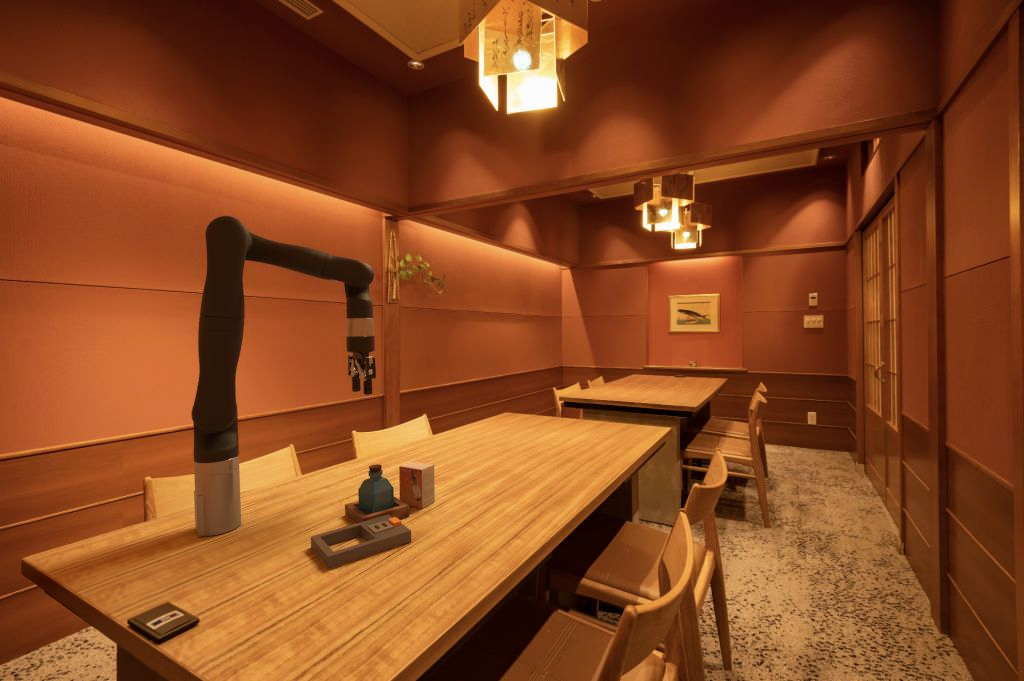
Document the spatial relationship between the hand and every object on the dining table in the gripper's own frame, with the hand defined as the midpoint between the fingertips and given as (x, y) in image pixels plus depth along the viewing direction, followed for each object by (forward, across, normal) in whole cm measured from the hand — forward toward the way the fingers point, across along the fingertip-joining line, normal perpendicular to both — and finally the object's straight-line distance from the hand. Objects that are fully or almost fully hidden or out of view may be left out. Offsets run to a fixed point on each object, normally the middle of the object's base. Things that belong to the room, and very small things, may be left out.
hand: (362, 393), depth 128 cm
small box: (+30, +12, +10) cm, 34 cm away
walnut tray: (+30, +13, -2) cm, 33 cm away
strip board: (+30, +26, -11) cm, 41 cm away
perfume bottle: (+30, +13, -2) cm, 32 cm away
